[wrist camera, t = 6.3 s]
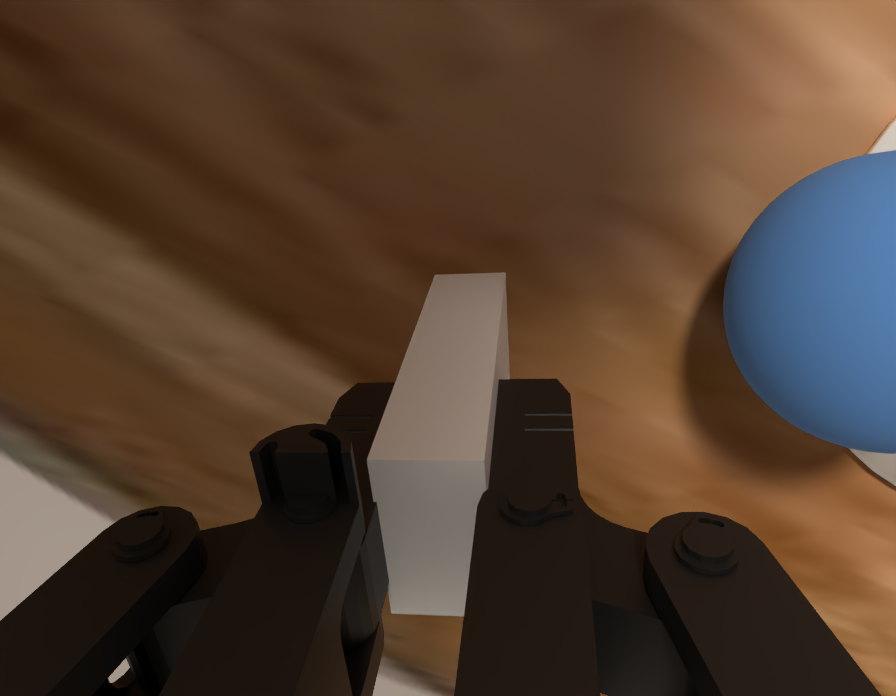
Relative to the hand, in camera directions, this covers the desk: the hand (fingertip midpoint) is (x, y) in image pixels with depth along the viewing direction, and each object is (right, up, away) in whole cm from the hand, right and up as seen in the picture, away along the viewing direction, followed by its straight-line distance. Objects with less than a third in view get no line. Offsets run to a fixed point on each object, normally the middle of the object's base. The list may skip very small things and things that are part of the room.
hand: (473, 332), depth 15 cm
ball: (+8, 0, -2) cm, 8 cm away
